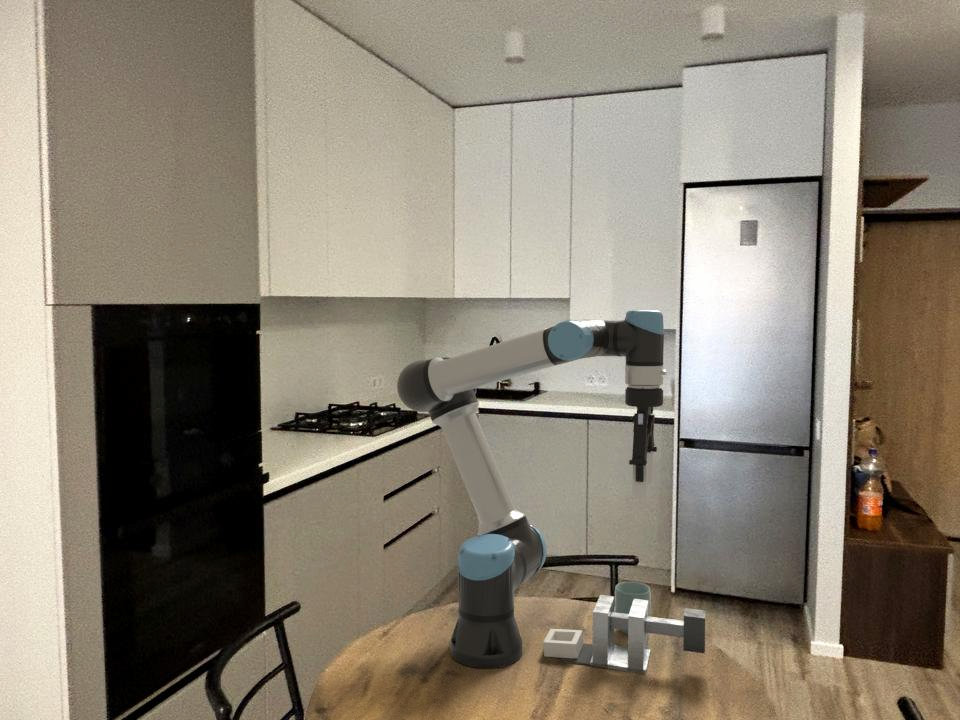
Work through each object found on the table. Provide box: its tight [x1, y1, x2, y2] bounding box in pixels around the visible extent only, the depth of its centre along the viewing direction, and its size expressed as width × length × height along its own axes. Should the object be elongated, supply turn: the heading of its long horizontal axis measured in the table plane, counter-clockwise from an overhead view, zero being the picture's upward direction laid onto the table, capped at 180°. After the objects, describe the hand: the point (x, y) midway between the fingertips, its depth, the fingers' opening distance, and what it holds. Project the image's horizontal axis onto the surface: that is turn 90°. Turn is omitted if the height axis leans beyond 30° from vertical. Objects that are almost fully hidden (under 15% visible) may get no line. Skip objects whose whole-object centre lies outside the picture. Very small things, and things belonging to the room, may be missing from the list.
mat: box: [560, 642, 593, 666], centre depth 152 cm, size 6×9×1 cm, turn 162°
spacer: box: [542, 628, 584, 659], centre depth 153 cm, size 3×7×7 cm
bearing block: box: [589, 594, 651, 675], centre depth 149 cm, size 11×9×11 cm
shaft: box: [610, 607, 706, 654], centre depth 147 cm, size 21×4×7 cm, turn 72°
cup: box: [614, 581, 652, 635], centre depth 163 cm, size 8×8×10 cm
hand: (643, 490), depth 149 cm, fingers open, 13 cm apart
